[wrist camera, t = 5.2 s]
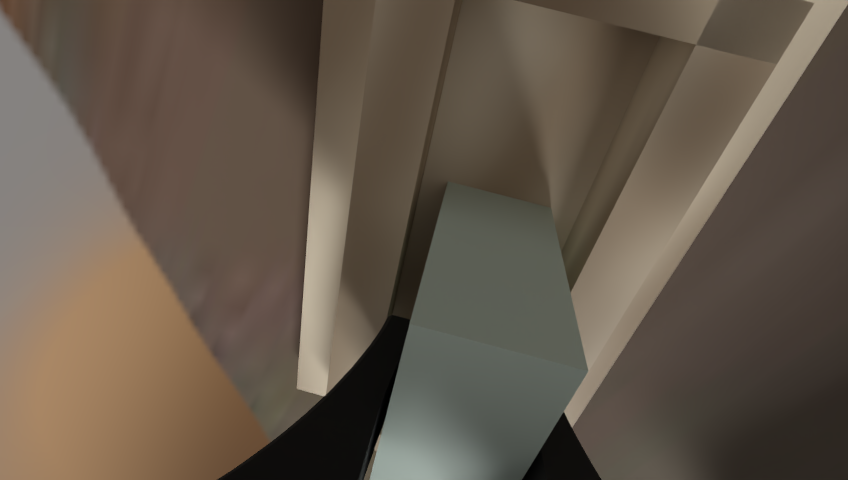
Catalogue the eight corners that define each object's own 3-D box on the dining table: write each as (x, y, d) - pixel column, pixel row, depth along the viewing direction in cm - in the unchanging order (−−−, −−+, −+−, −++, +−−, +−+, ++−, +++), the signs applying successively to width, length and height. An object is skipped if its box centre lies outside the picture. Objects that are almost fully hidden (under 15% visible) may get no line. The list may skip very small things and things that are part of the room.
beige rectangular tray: (823, -8, 9) (942, -6, 7) (549, 436, 18) (557, 508, 16) (347, -123, 10) (293, -161, 7) (306, 370, 19) (275, 431, 16)
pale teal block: (551, 207, 12) (588, 371, 7) (475, 389, 16) (464, 573, 11) (447, 181, 12) (409, 323, 7) (399, 368, 16) (353, 542, 11)
